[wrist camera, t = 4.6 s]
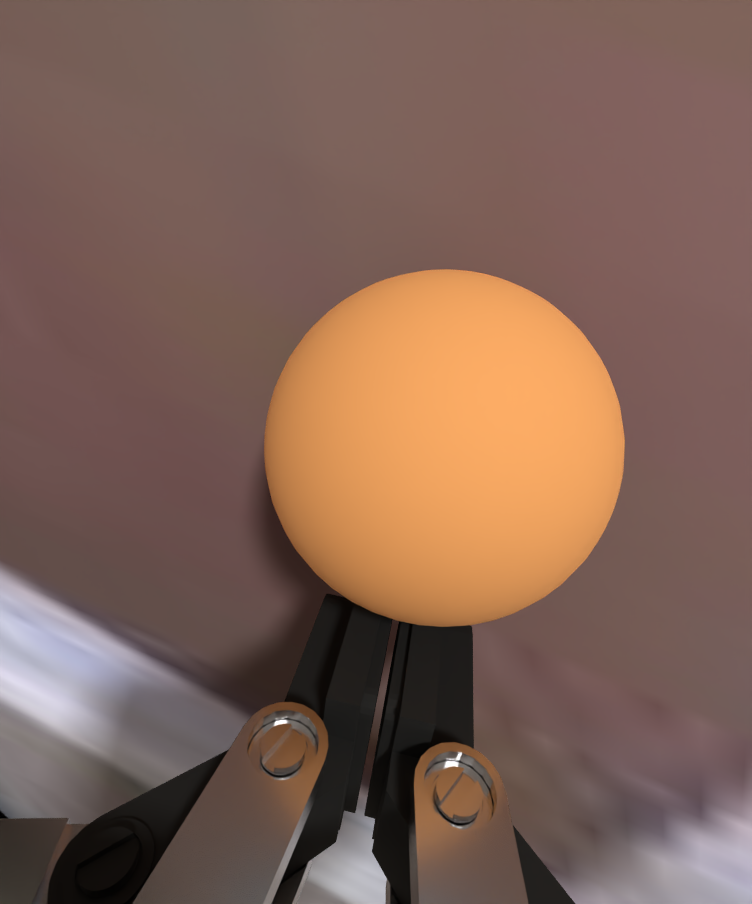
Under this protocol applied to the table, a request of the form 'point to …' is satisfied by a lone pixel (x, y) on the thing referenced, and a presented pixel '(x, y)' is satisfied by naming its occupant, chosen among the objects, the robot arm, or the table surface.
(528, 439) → the ball
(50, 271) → the table surface
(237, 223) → the table surface
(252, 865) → the robot arm
